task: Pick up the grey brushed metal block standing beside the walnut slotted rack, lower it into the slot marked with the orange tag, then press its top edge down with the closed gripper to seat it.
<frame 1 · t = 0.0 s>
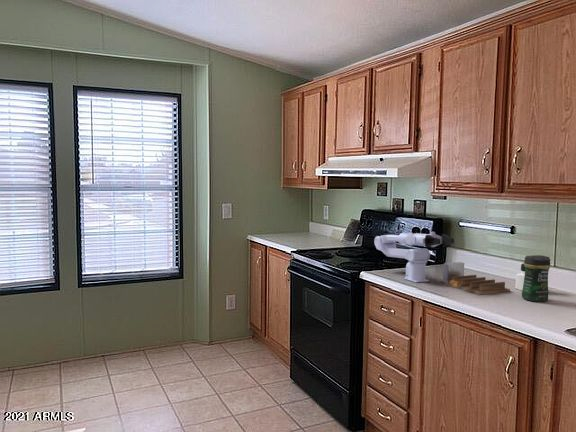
hand: (446, 241, 216), 22 cm above the worktop, tool horizontal, fingers open, 7 cm apart
grey brushed metal block: (453, 281, 235), on the worktop
coffee jar: (535, 300, 200), on the worktop
slot rack: (477, 288, 221), on the worktop
medicine bottle: (527, 290, 218), on the worktop
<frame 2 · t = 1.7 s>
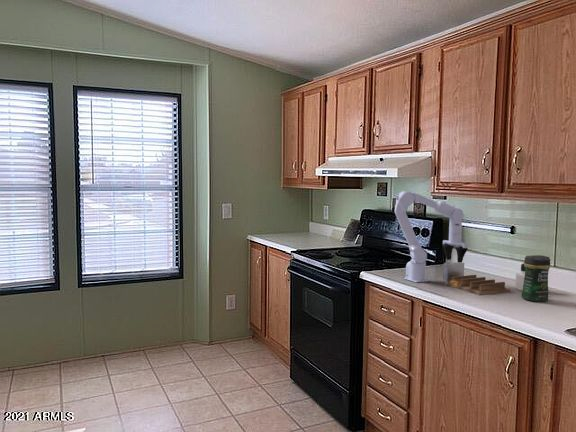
hand: (454, 261, 234), 10 cm above the worktop, tool pointing down, fingers open, 7 cm apart
nothing on the worktop moved.
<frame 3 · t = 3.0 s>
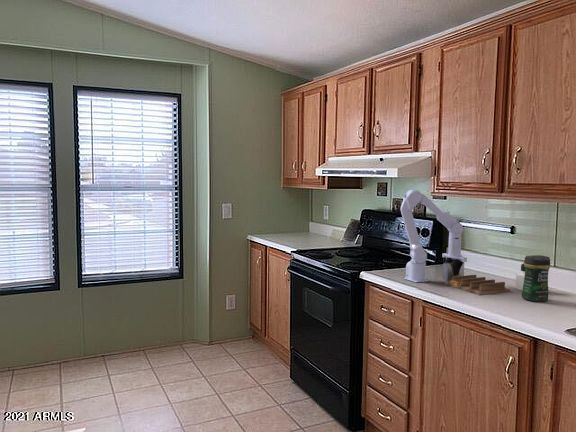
hand: (453, 274, 235), 3 cm above the worktop, tool pointing down, fingers closed on grey brushed metal block, 3 cm apart
grey brushed metal block: (453, 281, 235), on the worktop, touching gripper
everything else where it was.
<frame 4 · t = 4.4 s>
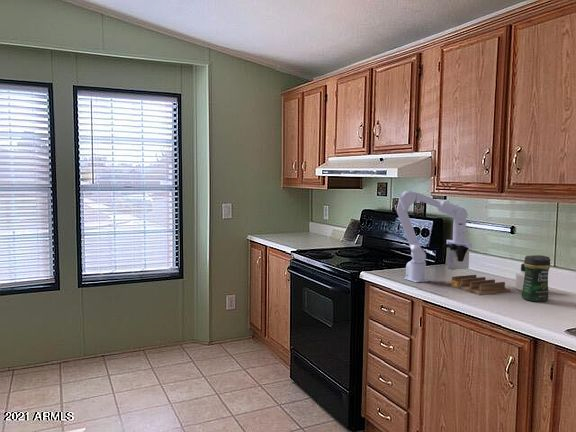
hand: (458, 260, 232), 10 cm above the worktop, tool pointing down, fingers closed on grey brushed metal block, 3 cm apart
grey brushed metal block: (458, 268, 232), point 7 cm above the worktop, touching gripper
everything else where it was.
when the fingers open (5 cm above the worktop, at t = 6.1 s): grey brushed metal block stays where it is, resting on slot rack.
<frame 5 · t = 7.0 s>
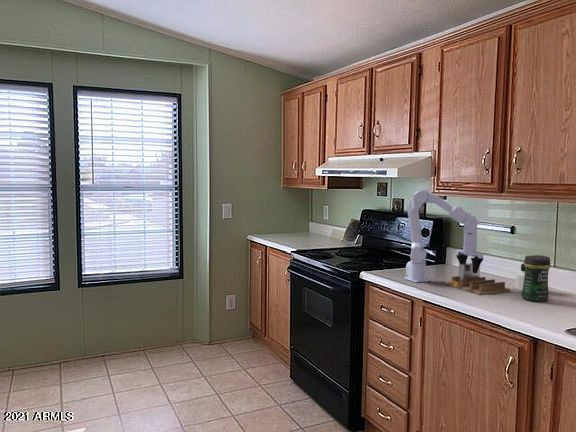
hand: (468, 271, 225), 7 cm above the worktop, tool pointing down, fingers open, 7 cm apart
grey brushed metal block: (468, 282, 226), point 1 cm above the worktop, touching slot rack
everything else where it was.
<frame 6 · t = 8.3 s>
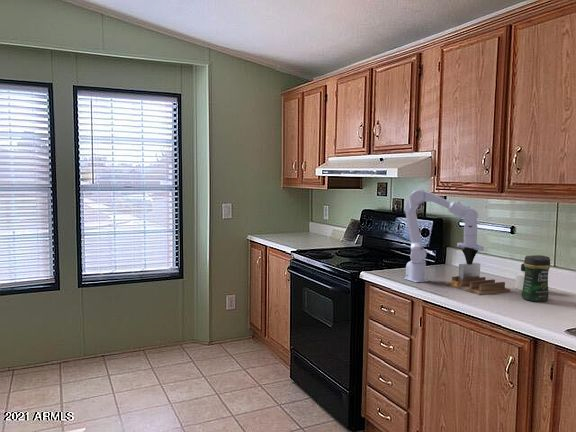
hand: (469, 264, 225), 10 cm above the worktop, tool pointing down, fingers closed, pressing on grey brushed metal block
grey brushed metal block: (468, 283, 226), point 1 cm above the worktop, touching gripper, slot rack
everything else where it was.
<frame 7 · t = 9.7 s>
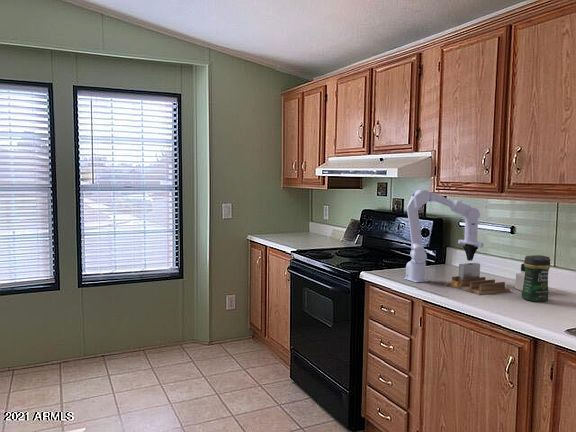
hand: (469, 260, 233), 10 cm above the worktop, tool pointing down, fingers closed
grey brushed metal block: (468, 282, 226), point 1 cm above the worktop, touching slot rack
everything else where it was.
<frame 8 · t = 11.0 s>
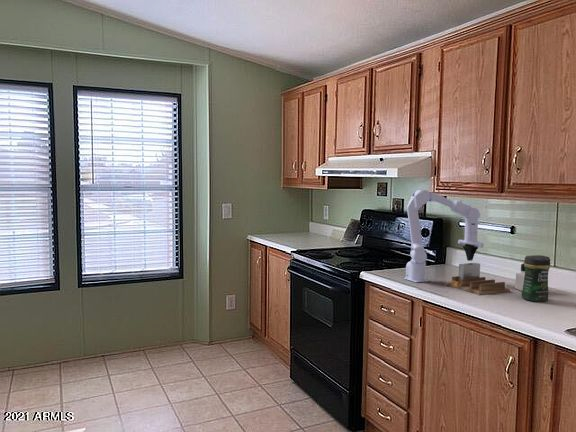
hand: (469, 260, 233), 10 cm above the worktop, tool pointing down, fingers closed
nothing on the worktop moved.
at the end: grey brushed metal block 0.2 cm from the target spot on the slot rack, point 1.2 cm above the slot rack's base; grey brushed metal block tilted 0°; the gripper is holding nothing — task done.
